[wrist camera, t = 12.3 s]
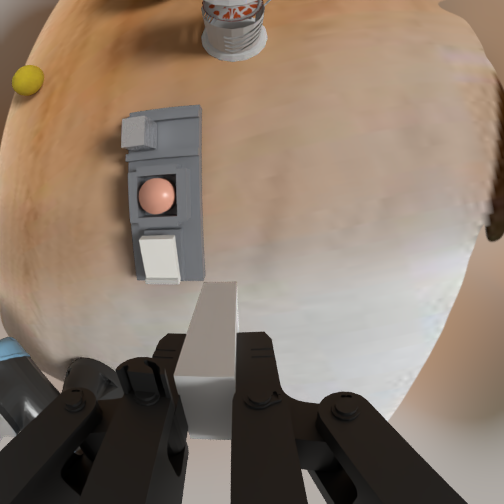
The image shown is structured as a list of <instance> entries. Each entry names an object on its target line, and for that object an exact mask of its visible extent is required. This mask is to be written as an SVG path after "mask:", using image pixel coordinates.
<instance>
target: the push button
mask: <svg viewBox="0 0 504 504" xmlns="http://www.w3.org/2000/svg"><path fill="white" fill-rule="evenodd" d="M139 202H140V205H141V206H142V208H143V209H144V210H145V211H146V212H148V213H150V214H160V213H163V212H165V211H168V210H170V209H171V208H172V207H173V206H174V205H175V204H176V202H177V195H176V185H175V184H174V183H173V182H172V181H170V180H168V179H165V178H153V179H150V180H148V181H146V182H145V183H144V184H143V185H142V187H141V189H140V191H139Z"/></svg>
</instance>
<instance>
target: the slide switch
mask: <svg viewBox="0 0 504 504" xmlns="http://www.w3.org/2000/svg"><path fill="white" fill-rule="evenodd" d="M121 148H124V149H128V150H132V151H144V150H153V149H157V123H156V122H154V121H153V120H151V119H150V118H148V117H147V116H138V117H132V118H126V119H122V135H121Z"/></svg>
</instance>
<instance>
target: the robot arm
mask: <svg viewBox="0 0 504 504" xmlns="http://www.w3.org/2000/svg"><path fill="white" fill-rule="evenodd" d="M20 431H21V432H20ZM19 432H20V433H19ZM187 432H189V435H190V438H193V439H218V440H221V439H222V440H231V504H308V502H307V497H306V492H305V487H304V482H303V477H302V472H301V469H306V470H308V472H309V474H310V476H311V477H312V479H313V481H314V482H315V484H316V486H317V488H318V489H319V491H320V493H321V494H322V496H323V497H324V499H325V501H326V502H327V504H468V503H467V502H466V501H465V500H464V499H463V498H462V497H461V496H459V494H458V493H456V491H454V490H453V488H452V487H450V486H449V484H447V482H446V481H445V480H444V479H443V478H442V477H441V476H440V475H439V474H438V473H437V472H436V471H435V470H434V469H432V467H431V466H430V465H429V464H428V463H427V462H426V461H425V460H424V459H423V458H422V457H421V456H420V455H419V454H418V453H417V452H416V451H415V450H414V449H413V448H412V447H411V446H410V445H409V444H408V443H407V442H406V440H405V439H404V438H403V437H402V436H401V435H400V434H399V433H398V432H397V431H396V430H395V429H394V428H393V427H392V426H391V425H390V424H389V423H388V422H387V421H386V420H385V418H384V417H383V416H382V415H381V414H380V413H379V412H378V411H377V410H376V409H375V408H374V407H373V406H372V405H371V404H370V403H369V402H368V400H366V399H365V398H363V397H362V396H361V395H358V394H355V393H352V392H337V393H332V394H330V395H328V396H327V397H325V398H324V399H323V400H322V401H321V402H320V404H317V403H308V402H302V401H298V400H295V399H293V398H291V397H289V396H288V395H287V394H285V392H284V391H283V390H282V388H281V385H280V381H279V375H278V370H277V365H276V360H275V355H274V350H273V344H272V339H271V338H270V337H269V336H268V335H267V334H266V333H265V332H242V333H239V322H238V299H237V282H204V284H203V287H202V290H201V293H200V296H199V298H198V301H197V304H196V307H195V310H194V313H193V316H192V319H191V322H190V325H189V328H188V331H187V334H171V333H168V334H167V335H166V336H165V337H163V338H162V339H161V340H160V341H159V343H158V345H157V347H156V351H155V352H154V354H153V358H149V357H137V358H133V359H129V360H127V361H125V362H123V363H122V364H120V365H119V366H118V367H117V368H116V372H115V371H114V370H112V369H111V368H109V367H108V366H106V365H105V364H103V363H101V362H98V361H96V360H93V359H88V358H81V359H77V360H75V361H74V362H73V363H72V364H71V366H70V367H69V368H68V370H67V373H66V378H65V381H64V385H63V390H62V393H61V394H60V393H59V391H58V390H57V389H56V388H55V387H54V386H53V385H52V384H51V382H50V381H49V380H48V379H47V378H46V377H45V375H44V374H43V373H42V372H41V370H40V369H39V368H38V367H37V365H36V364H35V363H34V361H33V360H32V359H31V357H30V355H29V354H28V353H27V352H26V351H25V350H24V349H23V347H22V346H21V345H20V343H19V342H18V341H17V340H16V339H15V338H13V337H6V338H3V339H1V340H0V441H1V439H2V438H3V437H5V436H9V437H14V438H13V439H12V440H11V441H10V442H9V443H8V444H7V445H6V446H5V447H4V448H3V449H2V450H1V451H0V504H182V497H183V489H184V481H185V474H186V467H187V460H188V453H189V452H188V446H187V442H186V438H187ZM18 433H19V434H18Z"/></svg>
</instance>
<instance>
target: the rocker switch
mask: <svg viewBox="0 0 504 504" xmlns="http://www.w3.org/2000/svg"><path fill="white" fill-rule="evenodd" d="M139 243H140V248H141V254H142V259H143V264H144V269H145V274H146V279H145V282H146V284H179V283H180V280H181V277H180V270H179V263H178V256H177V248H176V240H175V235H155V236H142V237H141V238H140V239H139Z"/></svg>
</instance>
